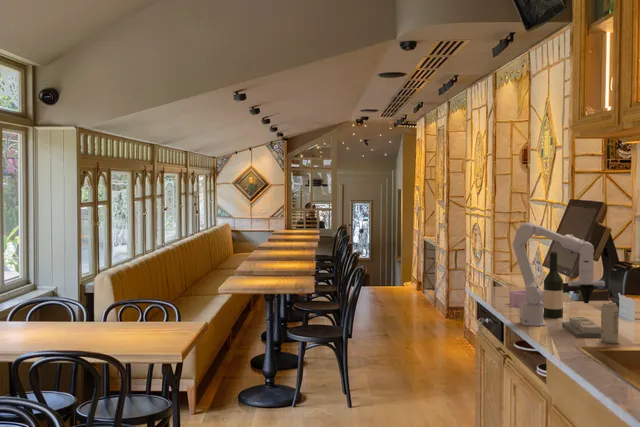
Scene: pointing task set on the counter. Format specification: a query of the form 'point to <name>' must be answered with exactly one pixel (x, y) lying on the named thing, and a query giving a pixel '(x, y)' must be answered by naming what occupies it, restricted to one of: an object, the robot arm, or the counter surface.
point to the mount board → (582, 328)
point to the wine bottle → (553, 290)
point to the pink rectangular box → (520, 298)
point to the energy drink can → (609, 322)
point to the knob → (579, 318)
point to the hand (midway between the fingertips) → (586, 302)
